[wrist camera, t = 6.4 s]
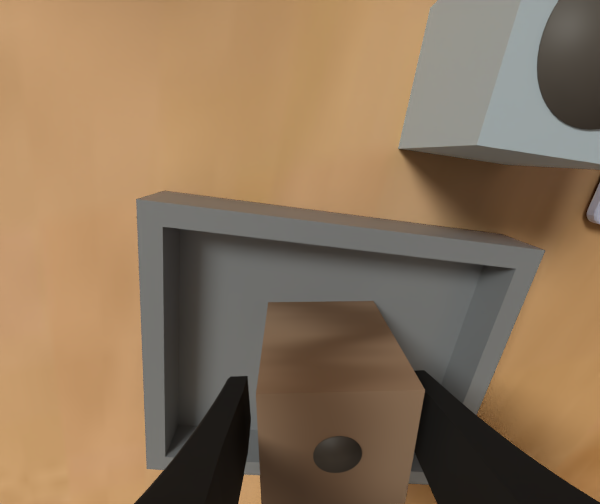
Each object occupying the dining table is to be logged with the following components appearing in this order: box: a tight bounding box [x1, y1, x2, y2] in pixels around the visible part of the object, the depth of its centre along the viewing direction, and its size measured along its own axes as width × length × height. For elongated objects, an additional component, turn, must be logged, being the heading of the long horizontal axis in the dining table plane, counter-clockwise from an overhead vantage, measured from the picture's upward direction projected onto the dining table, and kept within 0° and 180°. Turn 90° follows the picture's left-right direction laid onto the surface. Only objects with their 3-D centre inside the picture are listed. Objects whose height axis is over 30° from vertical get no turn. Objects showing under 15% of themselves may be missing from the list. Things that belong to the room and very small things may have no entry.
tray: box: [136, 191, 545, 485], centre depth 13 cm, size 14×12×2 cm
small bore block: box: [256, 301, 425, 504], centre depth 11 cm, size 4×4×5 cm
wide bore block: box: [398, 0, 600, 170], centre depth 8 cm, size 4×4×5 cm
